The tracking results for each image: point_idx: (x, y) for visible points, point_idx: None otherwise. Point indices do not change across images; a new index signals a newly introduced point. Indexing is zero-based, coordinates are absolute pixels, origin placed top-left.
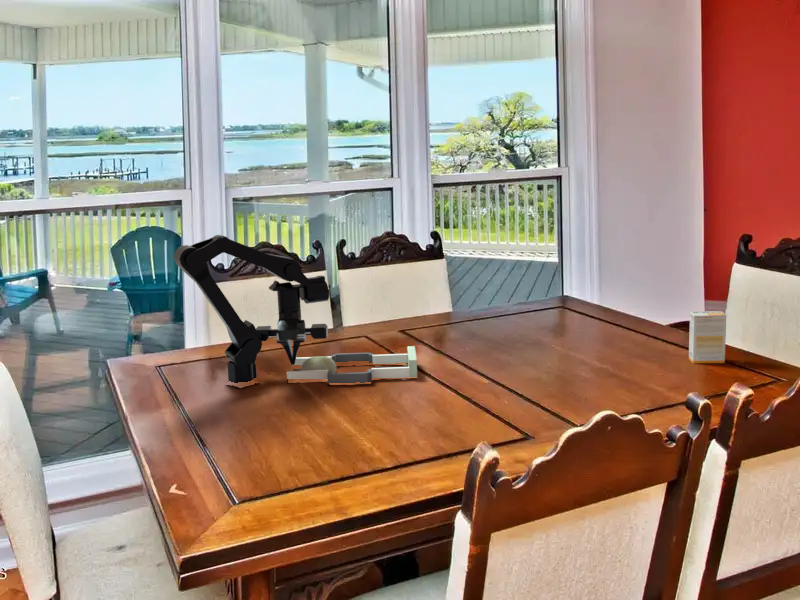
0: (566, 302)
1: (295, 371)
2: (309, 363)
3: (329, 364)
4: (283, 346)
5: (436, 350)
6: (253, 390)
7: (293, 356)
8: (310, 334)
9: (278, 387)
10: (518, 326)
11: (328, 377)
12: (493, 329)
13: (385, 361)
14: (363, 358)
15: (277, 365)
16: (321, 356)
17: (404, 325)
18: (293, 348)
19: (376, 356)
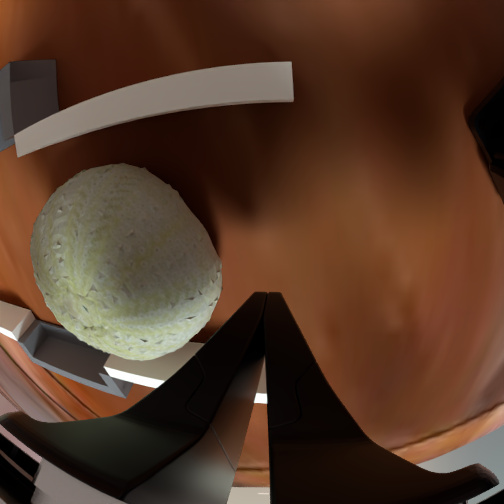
0: None
1: (204, 86)
2: (110, 240)
3: (32, 239)
4: (361, 439)
5: (17, 365)
6: (468, 9)
7: (244, 334)
8: (15, 472)
9: (339, 8)
10: (21, 400)
11: (19, 62)
12: (31, 405)
13: (5, 313)
14: (50, 350)
15: (358, 391)
16: (79, 331)
17: None
18: (213, 405)
19: (7, 327)
